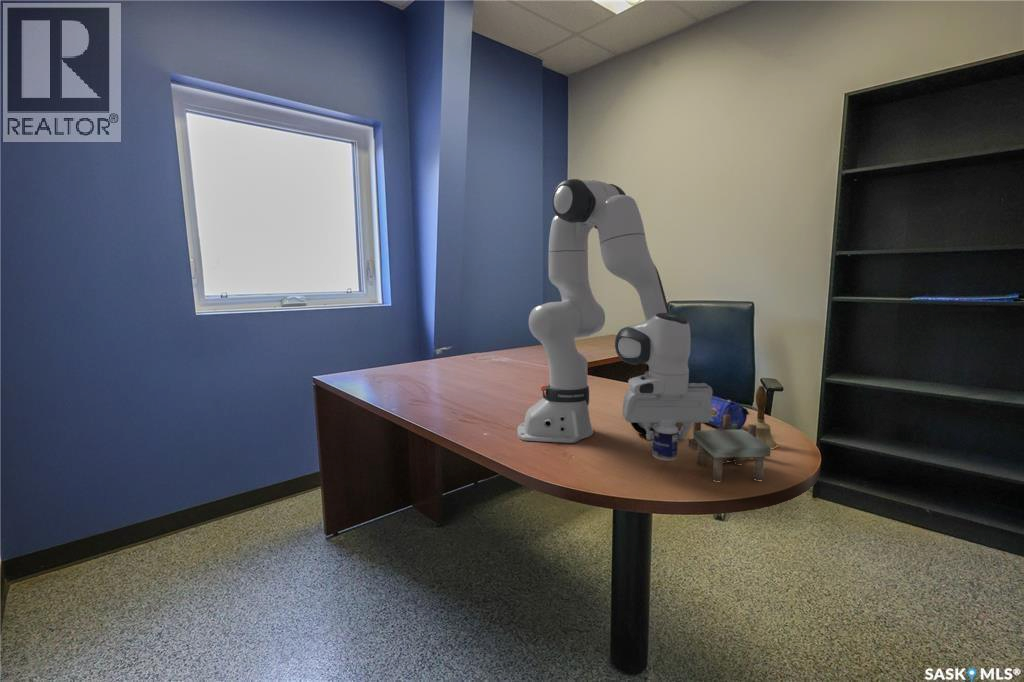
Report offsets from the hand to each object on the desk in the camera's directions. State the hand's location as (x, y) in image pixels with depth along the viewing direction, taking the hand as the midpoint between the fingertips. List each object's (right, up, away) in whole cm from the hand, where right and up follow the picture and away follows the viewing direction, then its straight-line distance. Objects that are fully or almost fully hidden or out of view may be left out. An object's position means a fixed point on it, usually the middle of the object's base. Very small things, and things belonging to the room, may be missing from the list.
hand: (665, 439), depth 107 cm
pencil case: (+25, -2, +32) cm, 40 cm away
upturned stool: (+18, -5, +9) cm, 21 cm away
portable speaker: (+6, -3, +32) cm, 33 cm away
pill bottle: (0, -5, +1) cm, 4 cm away
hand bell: (+30, -4, +13) cm, 33 cm away
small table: (+14, -7, -3) cm, 16 cm away
